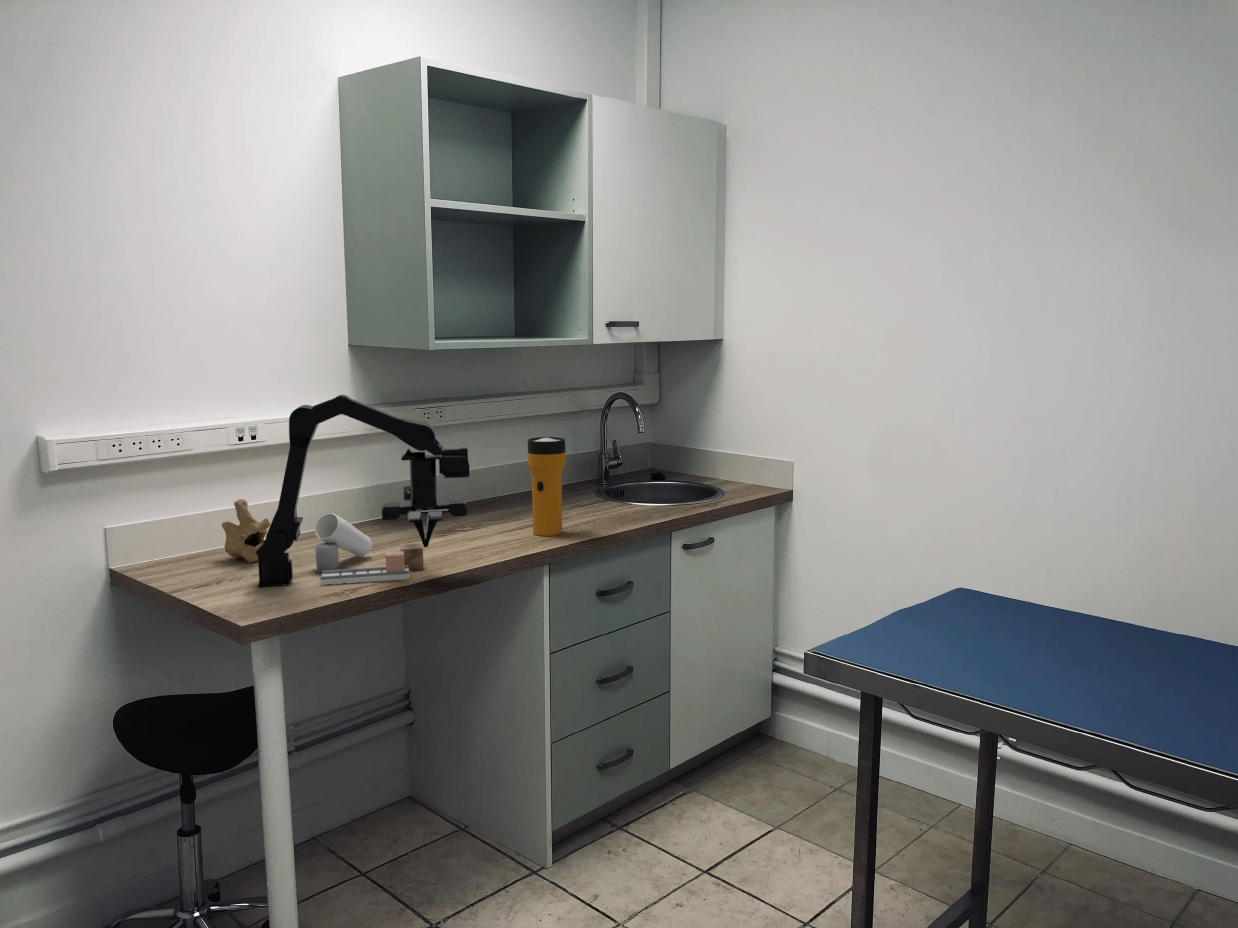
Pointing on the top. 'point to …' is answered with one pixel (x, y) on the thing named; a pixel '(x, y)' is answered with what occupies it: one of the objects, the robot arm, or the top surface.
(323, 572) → the counter rail
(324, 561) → the grey upright block
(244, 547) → the vertebra
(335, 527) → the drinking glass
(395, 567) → the counter slider
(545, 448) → the flashlight
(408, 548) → the walnut block
